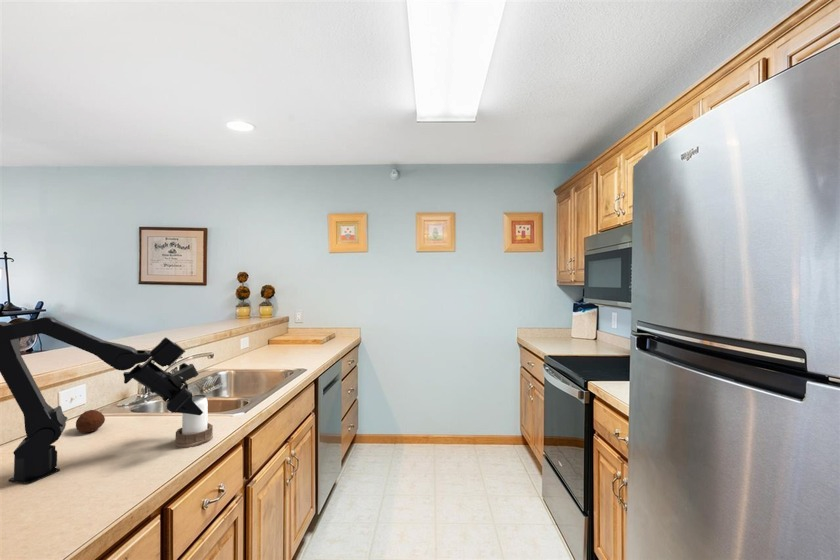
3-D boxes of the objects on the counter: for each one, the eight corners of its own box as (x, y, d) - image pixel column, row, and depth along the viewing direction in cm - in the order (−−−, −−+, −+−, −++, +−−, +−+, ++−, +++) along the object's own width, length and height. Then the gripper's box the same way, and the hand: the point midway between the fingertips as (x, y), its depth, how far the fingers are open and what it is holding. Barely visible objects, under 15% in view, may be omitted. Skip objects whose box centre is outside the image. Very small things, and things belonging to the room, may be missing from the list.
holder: (195, 448, 102) (195, 436, 102) (166, 446, 104) (167, 434, 104) (219, 435, 112) (220, 424, 112) (193, 432, 114) (193, 421, 114)
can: (209, 437, 108) (210, 397, 108) (184, 443, 103) (184, 402, 104) (204, 431, 112) (204, 392, 113) (180, 436, 108) (180, 397, 108)
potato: (105, 423, 121) (105, 404, 121) (104, 432, 114) (105, 412, 114) (76, 429, 116) (77, 409, 117) (74, 438, 109) (74, 417, 110)
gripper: (182, 362, 99) (226, 394, 105) (177, 352, 113) (216, 381, 120) (146, 396, 94) (194, 428, 100) (145, 381, 108) (188, 409, 115)
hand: (199, 409), depth 109 cm, fingers open, 9 cm apart
